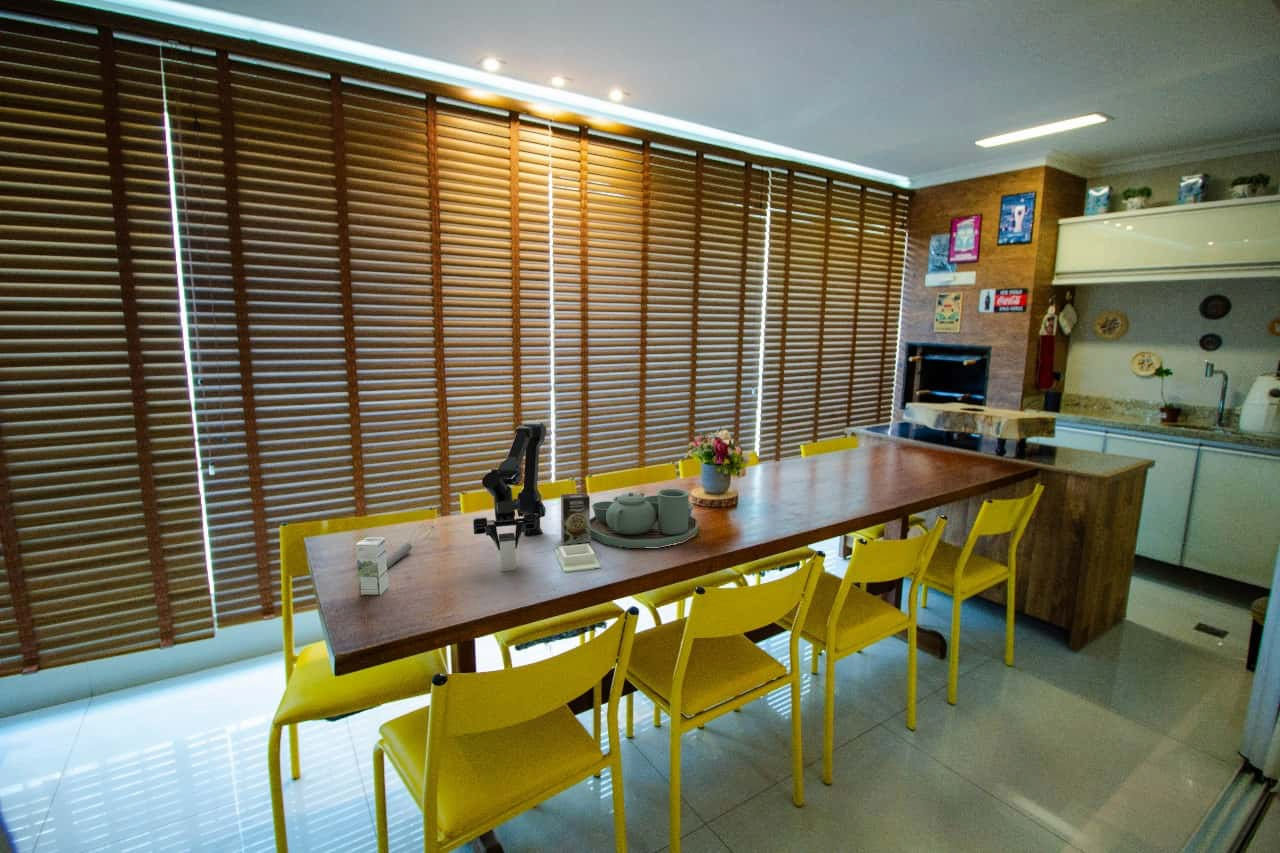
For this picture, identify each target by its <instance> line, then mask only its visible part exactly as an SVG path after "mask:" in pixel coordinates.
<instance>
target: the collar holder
mask: <svg viewBox="0 0 1280 853" xmlns="http://www.w3.org/2000/svg"><path fill="white" fill-rule="evenodd" d="M554 553H555V556H556V558H557V560H558V562H559V565H560V566H561V568H562V571H563V573H564V574H565V573H573V572H580V571H590V570H596V569H595V568H599V569H601V568H602V566H601V564H600V563H599V561H598V560H597V558H596V553H595V552H594V550H593V548H592V547H591V545H590V543H582V544H570V545H563V546H558V549H554ZM589 569H590V570H589Z"/></svg>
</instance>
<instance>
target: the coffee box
mask: <svg viewBox="0 0 1280 853" xmlns="http://www.w3.org/2000/svg"><path fill="white" fill-rule="evenodd" d="M590 500H591V498H590V495H588V493H587V492H583V493H581V492H580V493H567V494H566V493H565V494H563V493H562V494H560V513H561V514H560V524H561V525H560V526H561V528H560V529H561V530H560V531H561V532H560V533H561V534H560V536H561V538H560V539H561V542H562V544H563V546H569V545H568V544H570V545H578V544H577V543H582V544H586V543H585V542H590V543H591V537H590V519H591V518H590V517H591V516H590V513H591V512H590V511H591V510H590V509H591V506H590V505H591V504H590Z"/></svg>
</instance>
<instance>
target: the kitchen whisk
mask: <svg viewBox="0 0 1280 853" xmlns="http://www.w3.org/2000/svg"><path fill="white" fill-rule="evenodd" d="M424 524H427V525H425V526H424ZM431 524H432V522H429V523H427V522H426V521H425V522H423V523H421V524H420V525H419V526H418V527H417V529H415V530H414V531H413V533H412V534H411V535H410V537H409V538H408V539H407V542H406V543H404V544H403V545H402V546H400V547H399V548H398V549H397V550H396V551H394V552H392V554H390V555H389V556H388V557H387V556H386V561H387V570H388V569H389V568H390V567H392V566H393V565H394V564H395V563H397V561H399V560H400V559H401V558H402V557H404V556H405V555H406V554H408V553H410V551H411V550H412V549H415V548H418V547H419V548H420V545H423V544H424V543H426V542H427V540H426V541H423V542H421V543H417V542H419V541H420V540H421V539H423V538H426V537H427V538H428V537H429V535H430V534H431V533H432V532H435V530H436V528H438V526H437V525H435V526H433V525H431ZM422 527H424V529H425V530H424V531H423V532H422V531H421V533H418V534H417V535H416V536H415V537H414V536H413V535H414V534H415V533H416V531H417V530H418V529H419V528H422ZM427 527H430V528H427ZM426 528H427V529H426ZM430 529H431V530H430ZM428 530H430V532H428V533H426V535H424V536H423V537H421V538H420V539H418V540H417V541H415V542H414V543H412V542H413V541H414V540H415V539H417V537H419V536H420V535H421V534H423V533H424V532H427V531H428ZM437 534H438V530H436V534H433V535H432V537H431V538H429V539H428V541H430V540H431V539H433V538H435V537H436V536H437ZM412 537H414V538H413V539H412ZM411 539H412V540H411ZM416 543H417V544H418V545H417V544H416ZM414 544H416V546H415V545H414Z"/></svg>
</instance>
